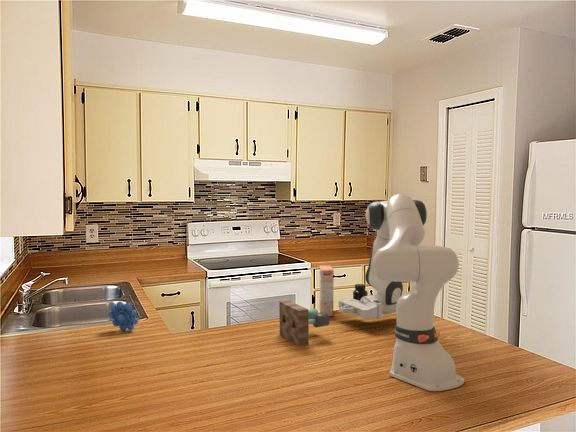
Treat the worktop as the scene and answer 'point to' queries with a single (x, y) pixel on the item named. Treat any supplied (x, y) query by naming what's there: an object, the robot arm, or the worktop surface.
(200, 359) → the worktop surface
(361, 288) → the supplement bottle
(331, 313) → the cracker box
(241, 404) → the worktop surface
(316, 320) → the black knob
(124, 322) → the blue gear
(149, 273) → the worktop surface
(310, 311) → the teal knob
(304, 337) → the block
